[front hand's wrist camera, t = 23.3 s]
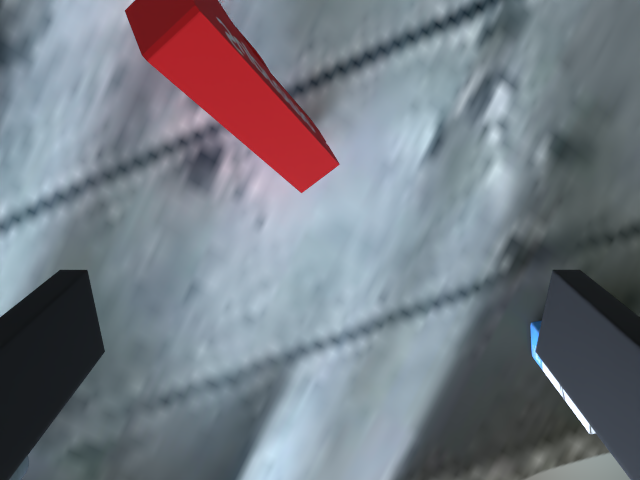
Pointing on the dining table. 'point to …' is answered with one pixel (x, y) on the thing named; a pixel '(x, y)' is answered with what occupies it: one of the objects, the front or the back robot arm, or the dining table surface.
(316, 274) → the dining table surface
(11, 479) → the can
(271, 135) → the toy gun
